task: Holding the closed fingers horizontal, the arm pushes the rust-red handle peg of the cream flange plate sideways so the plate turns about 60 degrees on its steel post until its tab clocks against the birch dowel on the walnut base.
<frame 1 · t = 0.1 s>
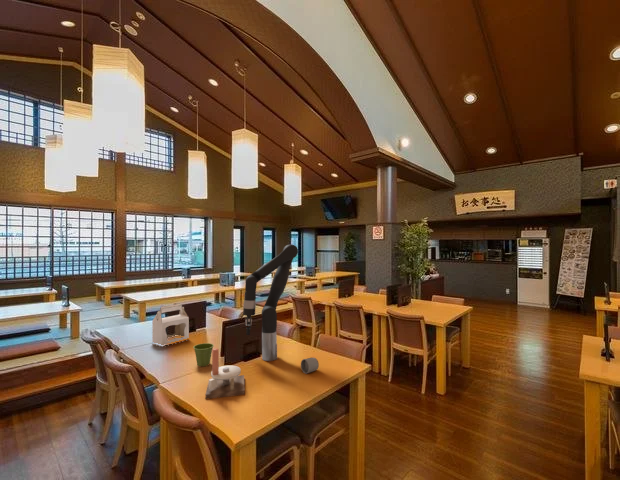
hand: (247, 333, 193), 17 cm above the table, tool pointing down, fingers open, 8 cm apart
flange: (225, 364, 155), point 12 cm above the table, hinge at 0.0°
gable box: (171, 342, 233), on the table
ceramic mug: (308, 371, 175), on the table
plant pot: (203, 364, 187), on the table
post base: (226, 388, 155), on the table
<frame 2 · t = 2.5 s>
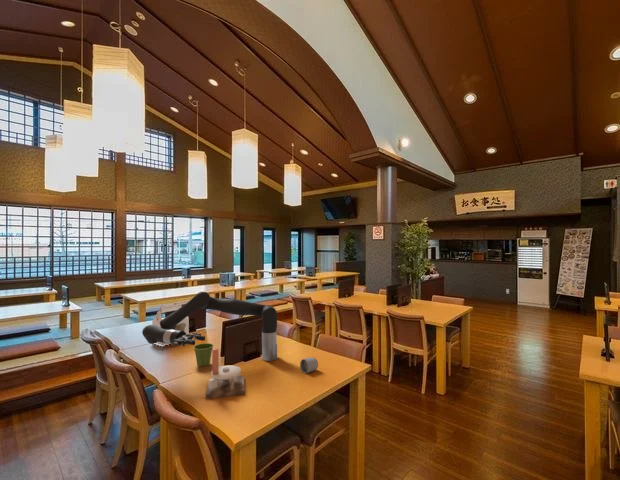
hand: (199, 340, 155), 24 cm above the table, tool horizontal, fingers open, 6 cm apart
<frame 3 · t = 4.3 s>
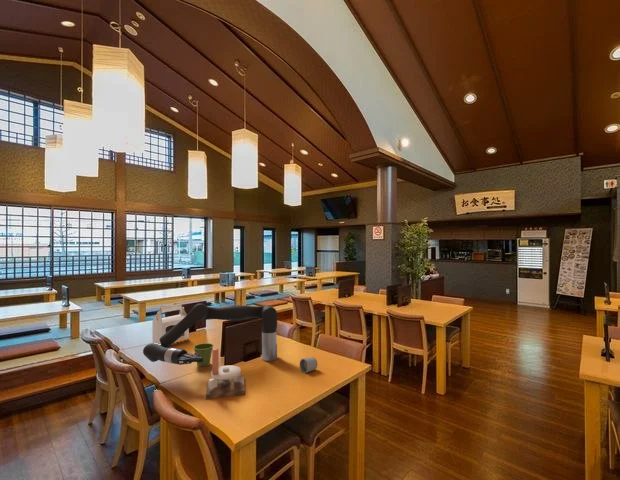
hand: (202, 360, 155), 14 cm above the table, tool horizontal, fingers closed
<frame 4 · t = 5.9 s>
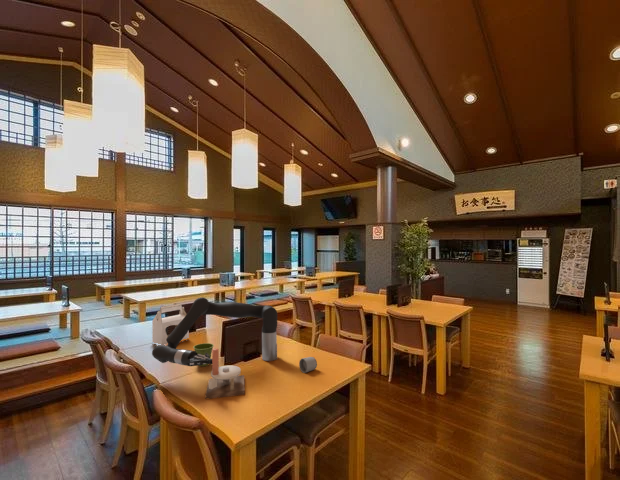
hand: (213, 361, 152), 14 cm above the table, tool horizontal, fingers closed
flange: (225, 364, 155), point 12 cm above the table, hinge at 0.2°, touching gripper
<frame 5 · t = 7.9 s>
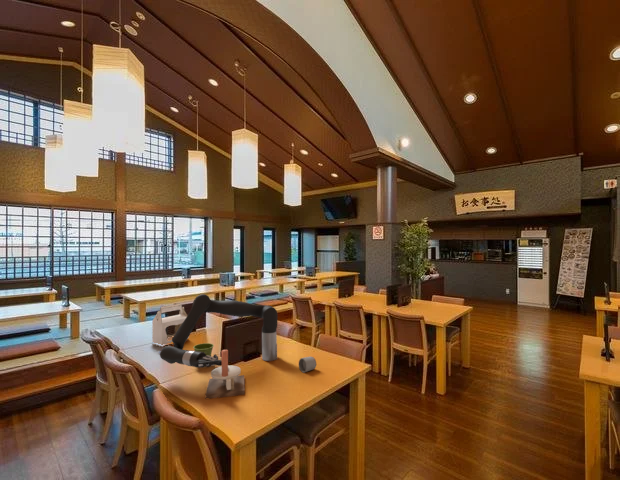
hand: (221, 363, 150), 14 cm above the table, tool horizontal, fingers closed
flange: (225, 364, 155), point 12 cm above the table, hinge at 61.0°, touching gripper, post base
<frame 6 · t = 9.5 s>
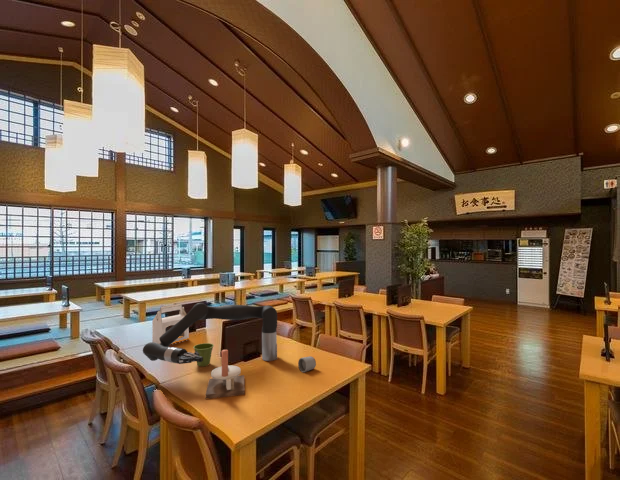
hand: (202, 359, 155), 15 cm above the table, tool horizontal, fingers closed
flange: (225, 364, 155), point 12 cm above the table, hinge at 61.0°, touching post base
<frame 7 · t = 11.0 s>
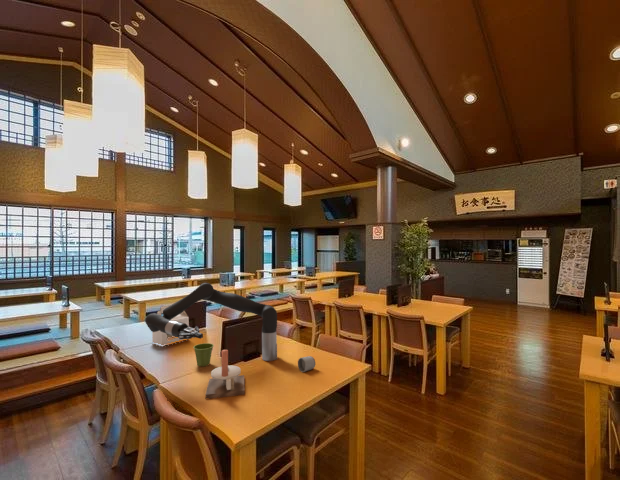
hand: (201, 336, 156), 26 cm above the table, tool horizontal, fingers closed
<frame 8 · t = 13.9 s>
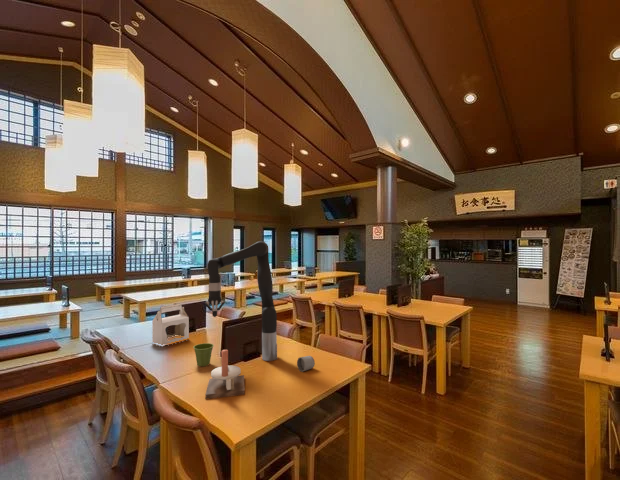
hand: (214, 316, 196), 27 cm above the table, tool pointing down, fingers closed
at the end: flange at +61° (first picture: +0°) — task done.
